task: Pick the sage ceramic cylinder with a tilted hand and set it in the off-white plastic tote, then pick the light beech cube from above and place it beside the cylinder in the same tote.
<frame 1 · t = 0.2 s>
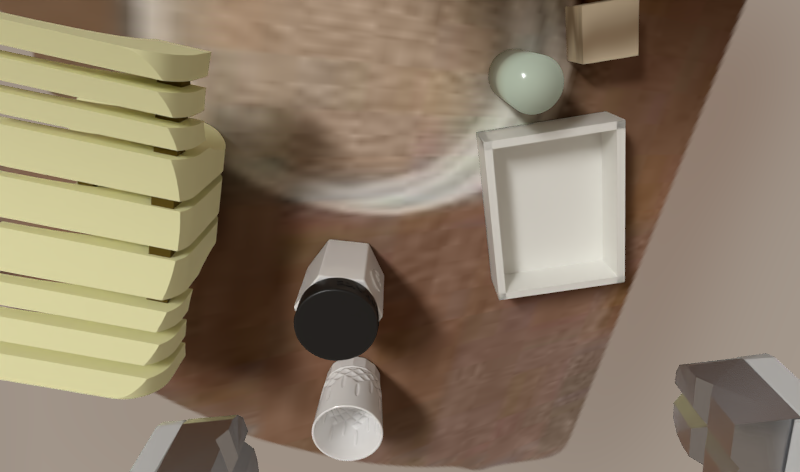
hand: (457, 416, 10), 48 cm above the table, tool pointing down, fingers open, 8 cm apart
jar: (346, 270, 62), on the table
beech cube: (591, 29, 52), on the table
slatted curved stool: (156, 171, 57), on the table
tote: (545, 200, 58), on the table
white cup: (354, 376, 68), on the table
sage cylinder: (512, 74, 53), on the table
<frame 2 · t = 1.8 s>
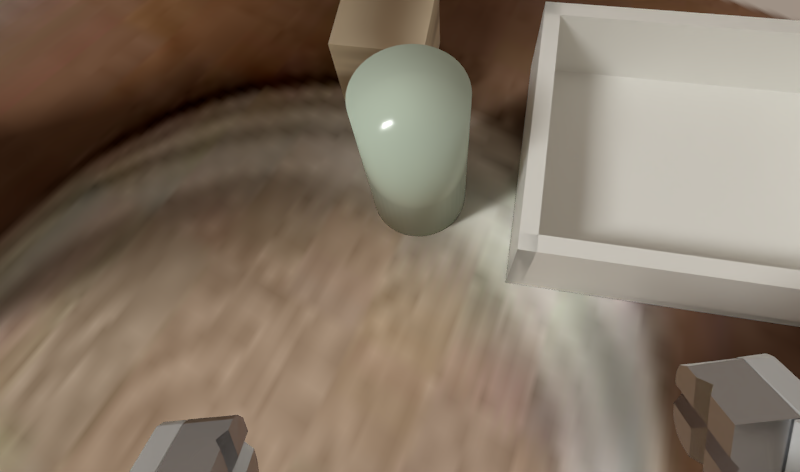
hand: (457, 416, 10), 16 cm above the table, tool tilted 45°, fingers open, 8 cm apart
beech cube: (393, 72, 32), on the table
tote: (687, 185, 28), on the table
sage cylinder: (419, 194, 29), on the table
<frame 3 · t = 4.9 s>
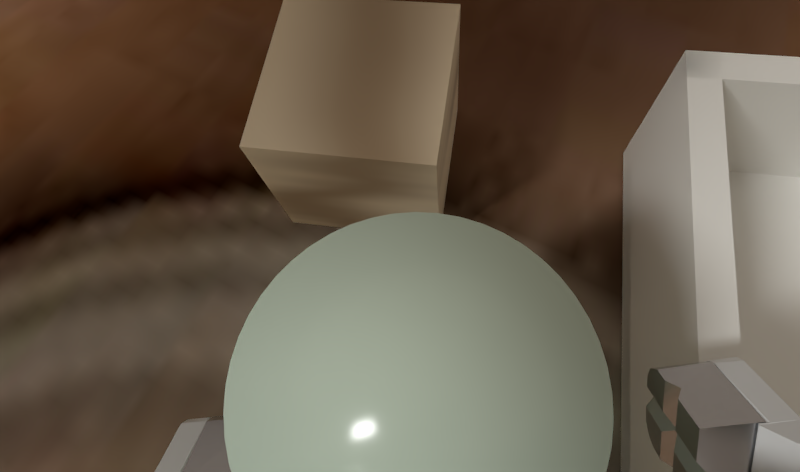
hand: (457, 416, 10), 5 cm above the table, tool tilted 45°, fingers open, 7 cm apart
beech cube: (377, 165, 18), on the table
sage cylinder: (432, 418, 15), on the table
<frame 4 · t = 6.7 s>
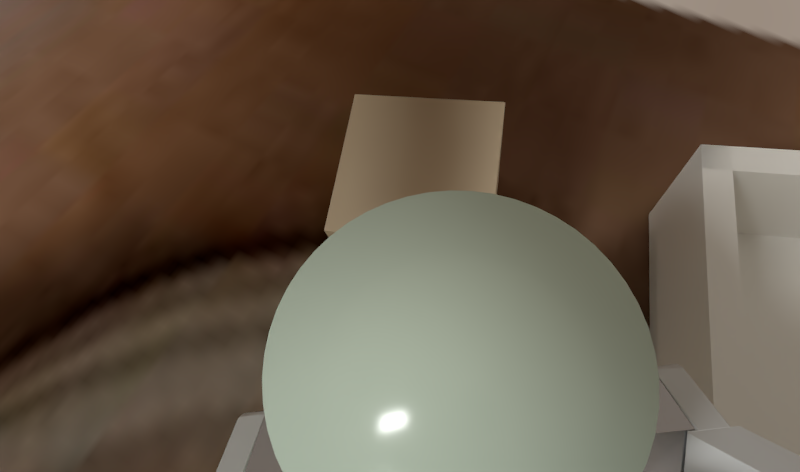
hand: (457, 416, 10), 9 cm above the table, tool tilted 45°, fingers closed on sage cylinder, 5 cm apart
beech cube: (429, 226, 21), on the table
sage cylinder: (459, 443, 15), point 3 cm above the table, tilted 7°, touching gripper
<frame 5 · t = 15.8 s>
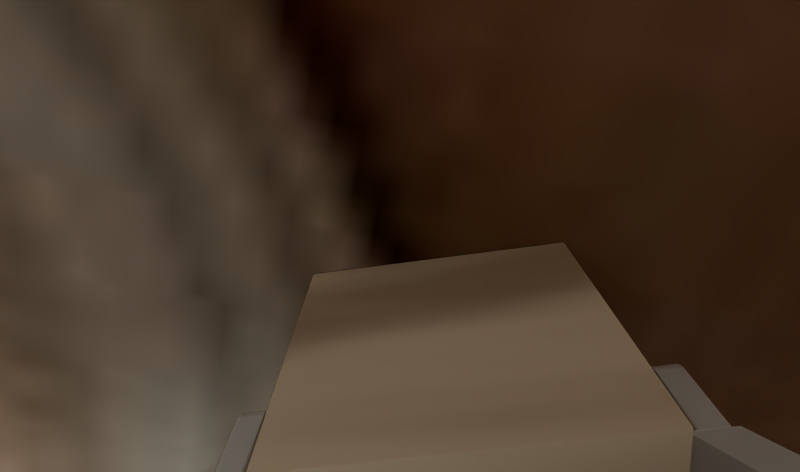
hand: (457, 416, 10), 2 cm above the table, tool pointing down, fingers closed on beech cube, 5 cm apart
beech cube: (450, 361, 11), on the table, touching gripper
when the fingers open (5 cm above the table, at t = 21.7 s): beech cube drops 2 cm, resting on tote.
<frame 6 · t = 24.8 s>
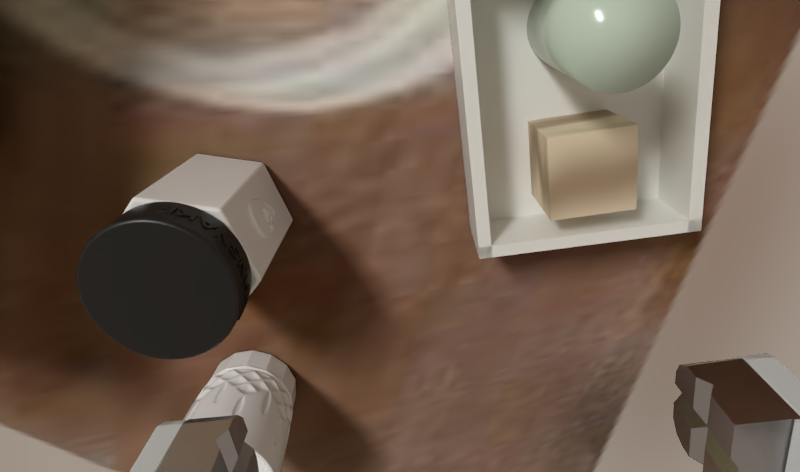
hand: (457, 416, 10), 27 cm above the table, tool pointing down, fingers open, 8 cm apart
jar: (231, 209, 37), on the table
beech cube: (567, 152, 35), point 1 cm above the table, touching tote
tote: (562, 89, 34), on the table
white cup: (256, 381, 43), on the table
sage cylinder: (568, 24, 32), point 1 cm above the table, touching tote
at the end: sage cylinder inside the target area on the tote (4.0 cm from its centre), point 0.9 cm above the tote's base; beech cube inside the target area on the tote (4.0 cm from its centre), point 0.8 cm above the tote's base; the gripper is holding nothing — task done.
